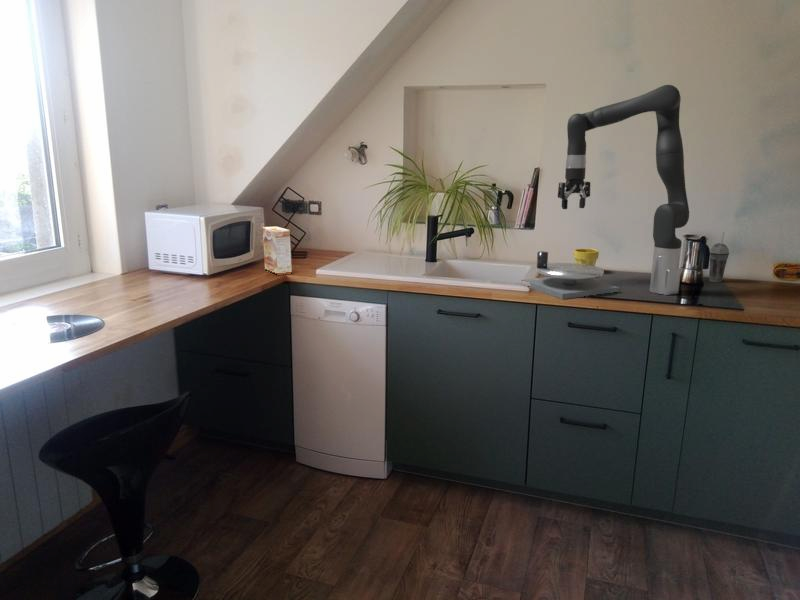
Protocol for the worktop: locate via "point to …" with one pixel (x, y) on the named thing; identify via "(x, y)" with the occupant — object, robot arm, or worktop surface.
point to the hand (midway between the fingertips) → (573, 208)
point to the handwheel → (566, 269)
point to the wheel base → (570, 287)
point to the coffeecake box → (277, 249)
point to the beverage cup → (718, 261)
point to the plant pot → (586, 256)
